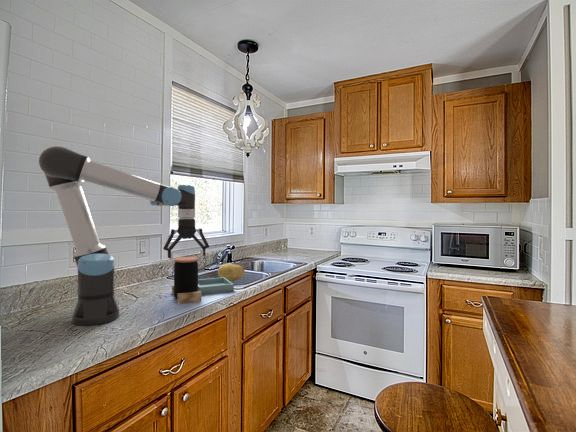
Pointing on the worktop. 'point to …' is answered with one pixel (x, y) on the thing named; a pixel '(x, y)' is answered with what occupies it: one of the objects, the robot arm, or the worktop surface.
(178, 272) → the coffee jar
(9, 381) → the worktop surface
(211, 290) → the bin
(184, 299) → the oak cradle
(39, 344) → the worktop surface
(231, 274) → the potato
